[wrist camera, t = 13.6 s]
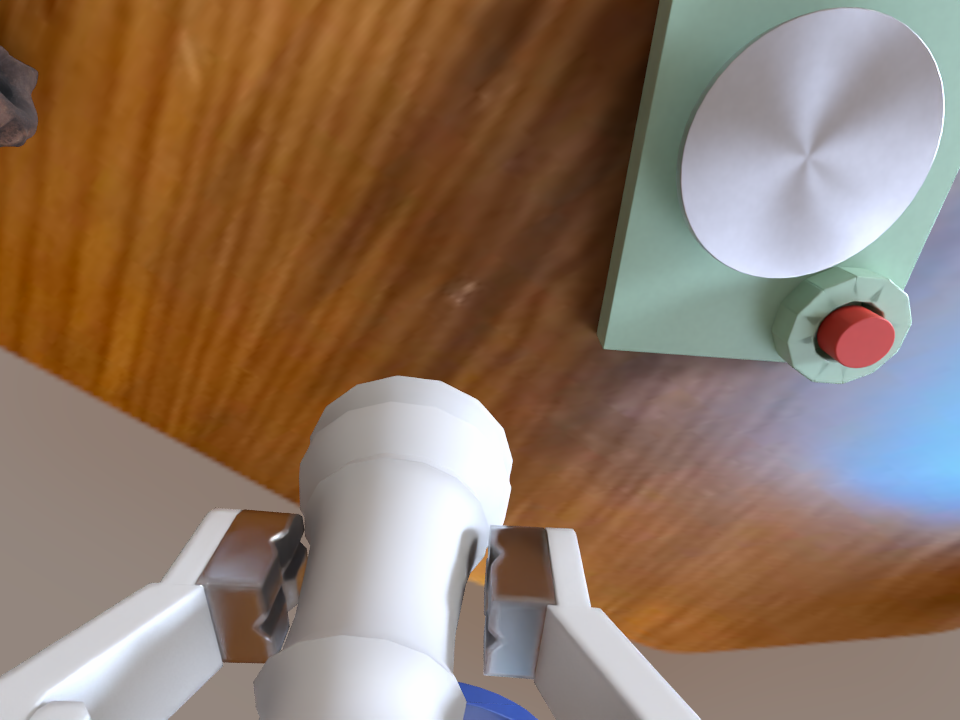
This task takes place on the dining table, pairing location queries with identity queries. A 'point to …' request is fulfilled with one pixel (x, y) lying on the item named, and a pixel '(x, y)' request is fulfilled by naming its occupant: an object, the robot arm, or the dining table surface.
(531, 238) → the dining table surface
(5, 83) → the pottery mug
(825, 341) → the tare button
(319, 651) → the rook chess piece
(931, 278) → the dining table surface
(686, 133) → the pan
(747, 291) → the scale
